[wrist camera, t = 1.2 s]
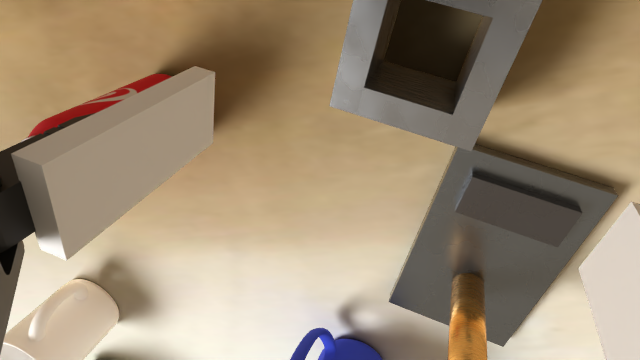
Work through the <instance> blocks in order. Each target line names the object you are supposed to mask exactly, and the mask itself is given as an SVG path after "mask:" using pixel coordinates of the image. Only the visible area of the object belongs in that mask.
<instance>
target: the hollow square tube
mask: <svg viewBox="0 0 640 360" xmlns="http://www.w3.org/2000/svg"><path fill="white" fill-rule="evenodd" d="M427 1H431V2H435V3H438V4H442V5H446V6H450V7H454V8H457V9H461V10H465V11H469V12H472V13H476V14H480V15H483V16H482V19H481V21H480V24H479V26H478V29H477V31H476V34H475V36H474V39H473V41H472V44H471V46H470V49H469V51H468V54H467V56H466V59H465V61H464V64H463V66H462V69H461V71H460V74H459V76H458V78H457V81H456V82H455V81H451V80H448V79H445V78H441V77H438V76H434V75H431V74H428V73H424V72H421V71H417V70H414V69H410V68H407V67H404V66H400V65H397V64H393V63H390V62H387V61H384V58H385V55H386V51H387V48H388V44H389V41H390V37H391V34H392V30H393V27H394V24H395V20H396V17H397V13H398V10H399V6H400V3H401V0H353V4H352V9H351V13H350V18H349V22H348V27H347V31H346V35H345V40H344V44H343V49H342V53H341V58H340V62H339V66H338V71H337V75H336V80H335V84H334V88H333V93H332V97H331V102H330V106H331V107H334V108H337V109H340V110H343V111H346V112H349V113H353V114H356V115H359V116H362V117H365V118H368V119H371V120H374V121H378V122H381V123H384V124H387V125H390V126H393V127H396V128H400V129H403V130H406V131H409V132H412V133H415V134H418V135H421V136H425V137H428V138H431V139H434V140H437V141H440V142H443V143H447V144H450V145H453V146H456V147H459V148H462V149H465V150H468V151H472V149H473V147H474V145H475V142H476V140H477V138H478V136H479V134H480V132H481V130H482V128H483V125H484V123H485V121H486V119H487V117H488V115H489V113H490V111H491V108H492V106H493V104H494V102H495V100H496V98H497V96H498V94H499V91H500V89H501V87H502V85H503V83H504V81H505V79H506V77H507V74H508V72H509V70H510V68H511V66H512V64H513V62H514V60H515V57H516V55H517V53H518V51H519V49H520V47H521V45H522V43H523V40H524V38H525V36H526V34H527V32H528V30H529V28H530V26H531V23H532V21H533V19H534V17H535V15H536V13H537V11H538V9H539V6H540V4H541V2H542V0H427Z"/></svg>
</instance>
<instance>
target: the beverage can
mask: <svg viewBox="0 0 640 360" xmlns="http://www.w3.org/2000/svg"><path fill="white" fill-rule="evenodd" d="M171 77H172V76H169V75H166V74H153V75H150V76H148V77H145V78H143V79H140V80H138V81H136V82H133V83H131V84H129V85H126V86H124V87H121V88H119V89H117V90H114V91H112V92H109V93H107V94H105V95H102V96H100V97H98V98H95V99H93V100H90V101H88V102H86V103H83V104H81V105H78V106H76V107H74V108H71V109H69V110H66V111H64V112H62V113H59V114H57V115H55V116H52V117H50V118H47V119H45V120H43V121H42V122H40V123H39V124H38V125H37V126H36V127H35V128H34V129H33V130H32V132H31V133H30V134H29V136H28V137H27V138H26V139H24V140H22V141H21V142H23V141H25V140H27V139H29V138H31V137H33V136H36V135H38V134H40V133H41V134H43V133H44V131H46V130H49V129H51V128H53V127H56V128H57V127H58V125H59V124H61V123H64V122H66V121H68V120H70V119H72V118H74V117H79V116H83V115H88V114H92V113H97V112H99V111H101V110H104V109H106V108H108V107H110V106H112V105H114V104H116V103H118V102H120V101H122V100H125V99H127V98H129V97H131V96H133V95H135V94H137V93H139V92H141V91H143V90H146V89H148V88H150V87H152V86H154V85H156V84H158V83H160V82H162V81H164V80H166V79H169V78H171Z"/></svg>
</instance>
